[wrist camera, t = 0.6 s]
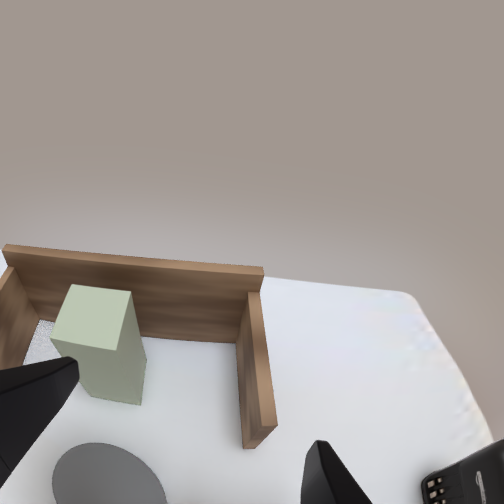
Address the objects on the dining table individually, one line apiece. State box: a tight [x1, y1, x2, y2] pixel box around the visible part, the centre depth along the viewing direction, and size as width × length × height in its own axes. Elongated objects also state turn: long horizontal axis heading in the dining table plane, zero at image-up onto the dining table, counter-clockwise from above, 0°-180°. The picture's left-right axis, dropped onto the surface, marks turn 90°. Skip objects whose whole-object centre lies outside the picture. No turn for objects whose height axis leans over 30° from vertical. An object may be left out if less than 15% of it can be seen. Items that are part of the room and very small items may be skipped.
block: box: [50, 284, 147, 405], centre depth 19 cm, size 5×5×10 cm
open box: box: [0, 244, 278, 449], centre depth 19 cm, size 12×25×10 cm, turn 95°
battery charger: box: [422, 438, 504, 504], centre depth 11 cm, size 7×4×11 cm, turn 3°
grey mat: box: [52, 443, 166, 504], centre depth 13 cm, size 10×10×1 cm
